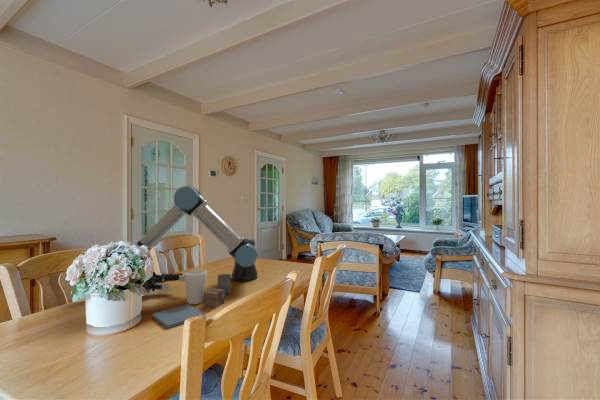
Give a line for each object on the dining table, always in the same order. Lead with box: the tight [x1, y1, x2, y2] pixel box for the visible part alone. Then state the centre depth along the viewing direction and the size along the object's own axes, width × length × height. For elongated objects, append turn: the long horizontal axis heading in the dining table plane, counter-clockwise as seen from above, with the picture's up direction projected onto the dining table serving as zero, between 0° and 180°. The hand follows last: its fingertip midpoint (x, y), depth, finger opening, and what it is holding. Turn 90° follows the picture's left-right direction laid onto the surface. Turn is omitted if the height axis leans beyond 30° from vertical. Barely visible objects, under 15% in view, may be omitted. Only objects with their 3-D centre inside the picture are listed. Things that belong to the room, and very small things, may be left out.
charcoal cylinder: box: [217, 273, 232, 297], centre depth 131 cm, size 6×6×9 cm
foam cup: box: [183, 269, 208, 305], centre depth 121 cm, size 10×9×13 cm
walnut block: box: [203, 287, 225, 309], centre depth 118 cm, size 6×6×6 cm
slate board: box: [152, 303, 206, 330], centre depth 105 cm, size 14×14×1 cm
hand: (179, 283), depth 124 cm, fingers open, 13 cm apart
